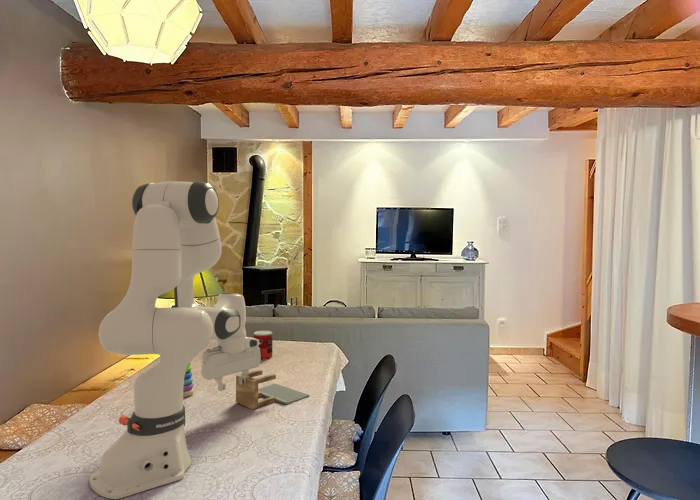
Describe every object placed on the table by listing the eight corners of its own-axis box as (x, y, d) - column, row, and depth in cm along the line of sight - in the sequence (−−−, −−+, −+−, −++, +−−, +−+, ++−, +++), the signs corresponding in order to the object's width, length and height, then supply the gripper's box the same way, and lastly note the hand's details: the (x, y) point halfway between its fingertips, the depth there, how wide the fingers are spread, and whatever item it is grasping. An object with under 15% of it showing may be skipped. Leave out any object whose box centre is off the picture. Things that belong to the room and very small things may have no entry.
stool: (252, 409, 158) (253, 381, 158) (235, 402, 164) (236, 375, 164) (276, 401, 166) (276, 374, 165) (258, 395, 171) (259, 369, 171)
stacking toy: (186, 399, 168) (185, 344, 167) (165, 397, 169) (164, 342, 168) (198, 391, 175) (197, 338, 174) (177, 389, 177) (176, 337, 176)
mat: (285, 405, 163) (285, 402, 162) (250, 392, 174) (250, 389, 174) (309, 396, 171) (309, 393, 171) (275, 384, 183) (275, 381, 183)
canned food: (252, 356, 221) (251, 331, 220) (269, 354, 224) (269, 329, 223) (256, 360, 214) (256, 335, 213) (274, 358, 217) (274, 333, 216)
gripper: (208, 351, 147) (209, 397, 148) (263, 339, 163) (263, 381, 163) (196, 348, 151) (197, 393, 152) (251, 336, 167) (251, 377, 167)
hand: (232, 386), depth 158 cm, fingers open, 6 cm apart
